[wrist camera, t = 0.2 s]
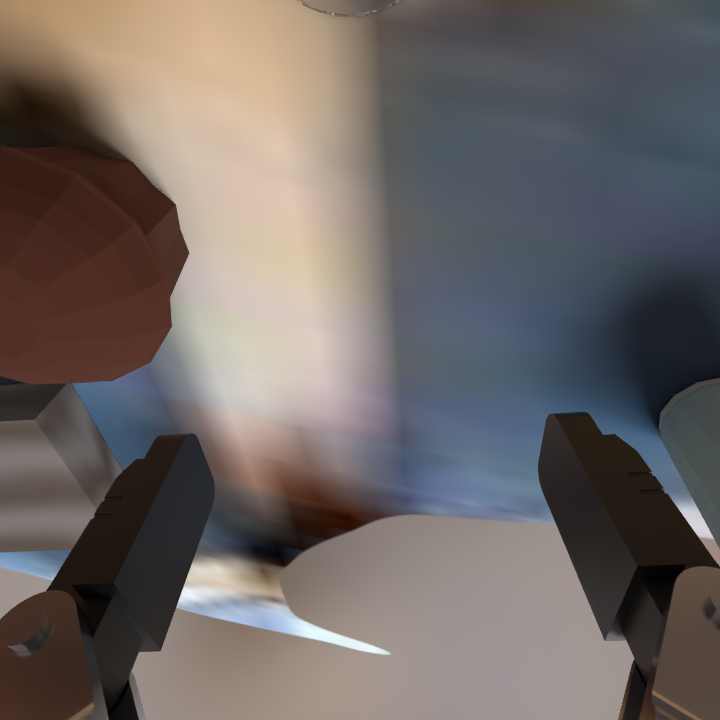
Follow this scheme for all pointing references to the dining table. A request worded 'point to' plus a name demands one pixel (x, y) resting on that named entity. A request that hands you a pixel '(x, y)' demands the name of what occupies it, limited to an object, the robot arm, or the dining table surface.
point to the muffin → (82, 265)
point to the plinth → (49, 467)
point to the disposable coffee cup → (696, 445)
